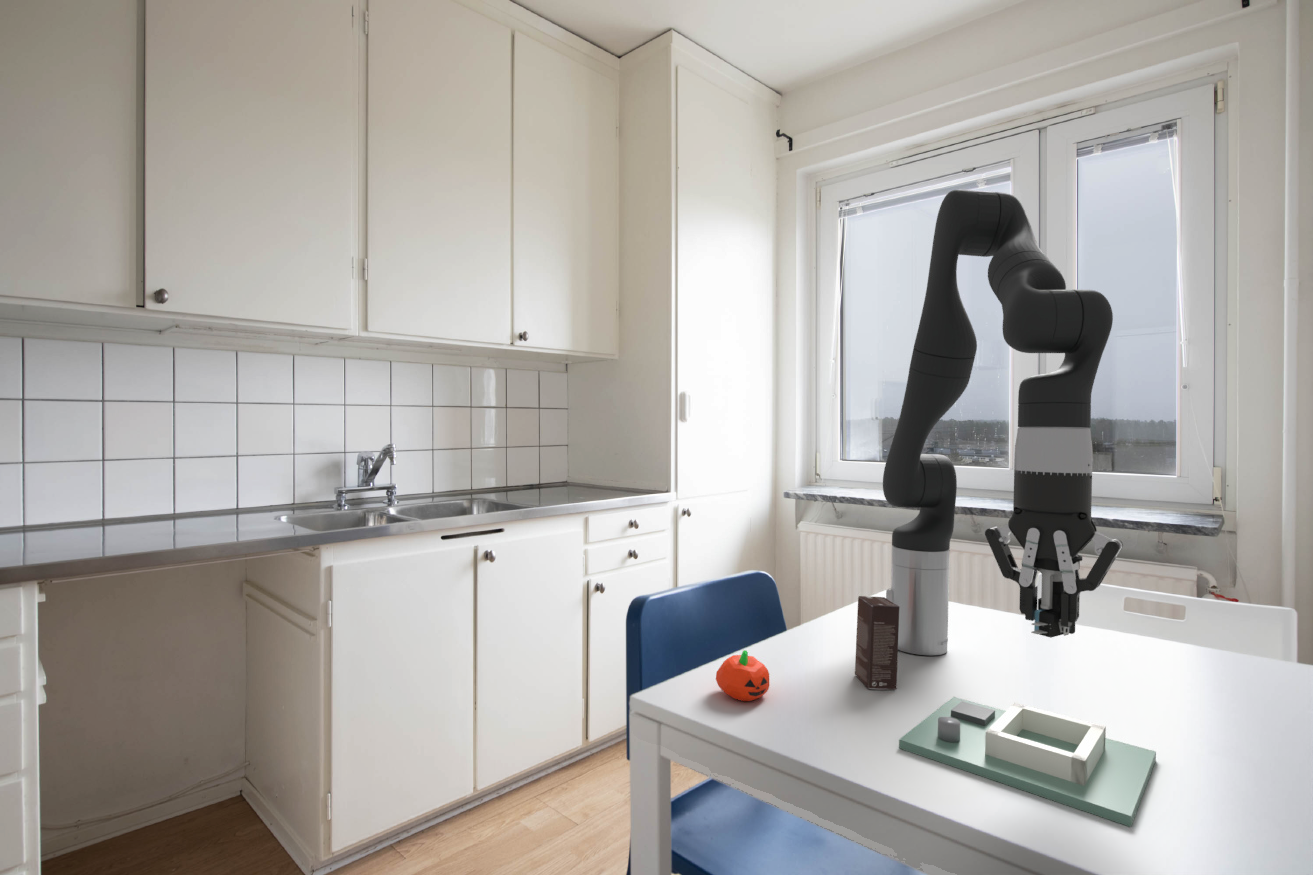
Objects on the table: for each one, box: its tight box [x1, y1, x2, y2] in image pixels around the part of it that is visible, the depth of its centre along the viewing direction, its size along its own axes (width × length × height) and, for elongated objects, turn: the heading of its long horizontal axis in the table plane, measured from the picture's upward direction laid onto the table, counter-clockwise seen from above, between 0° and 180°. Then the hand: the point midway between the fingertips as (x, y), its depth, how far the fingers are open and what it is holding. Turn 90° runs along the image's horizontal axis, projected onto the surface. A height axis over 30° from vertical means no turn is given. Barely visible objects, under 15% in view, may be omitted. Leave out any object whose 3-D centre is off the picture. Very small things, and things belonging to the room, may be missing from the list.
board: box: [898, 696, 1157, 828], centre depth 76 cm, size 22×18×4 cm
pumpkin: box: [715, 649, 770, 702], centre depth 92 cm, size 7×8×6 cm
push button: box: [1030, 554, 1083, 638], centre depth 76 cm, size 7×5×10 cm
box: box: [854, 595, 900, 691], centre depth 98 cm, size 6×4×12 cm
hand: (1048, 621), depth 75 cm, fingers closed on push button, 3 cm apart
